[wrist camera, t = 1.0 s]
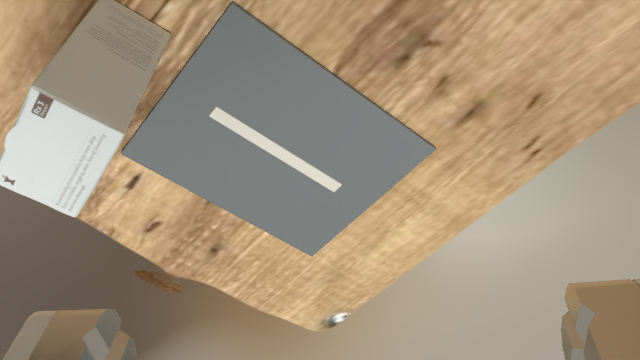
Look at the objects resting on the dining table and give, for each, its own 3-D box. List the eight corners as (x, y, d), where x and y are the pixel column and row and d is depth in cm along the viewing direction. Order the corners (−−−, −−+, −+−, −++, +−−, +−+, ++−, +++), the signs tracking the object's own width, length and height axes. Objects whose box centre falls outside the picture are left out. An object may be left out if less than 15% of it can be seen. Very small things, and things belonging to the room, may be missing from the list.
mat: (121, 151, 53) (120, 154, 52) (232, 1, 44) (231, 3, 43) (311, 253, 62) (312, 257, 61) (435, 146, 53) (436, 149, 53)
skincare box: (131, 103, 49) (78, 226, 38) (61, 68, 47) (-18, 186, 36) (174, 27, 45) (130, 140, 34) (100, -16, 43) (25, 89, 31)
